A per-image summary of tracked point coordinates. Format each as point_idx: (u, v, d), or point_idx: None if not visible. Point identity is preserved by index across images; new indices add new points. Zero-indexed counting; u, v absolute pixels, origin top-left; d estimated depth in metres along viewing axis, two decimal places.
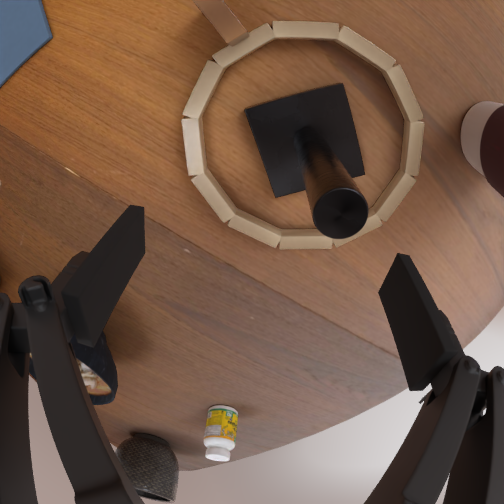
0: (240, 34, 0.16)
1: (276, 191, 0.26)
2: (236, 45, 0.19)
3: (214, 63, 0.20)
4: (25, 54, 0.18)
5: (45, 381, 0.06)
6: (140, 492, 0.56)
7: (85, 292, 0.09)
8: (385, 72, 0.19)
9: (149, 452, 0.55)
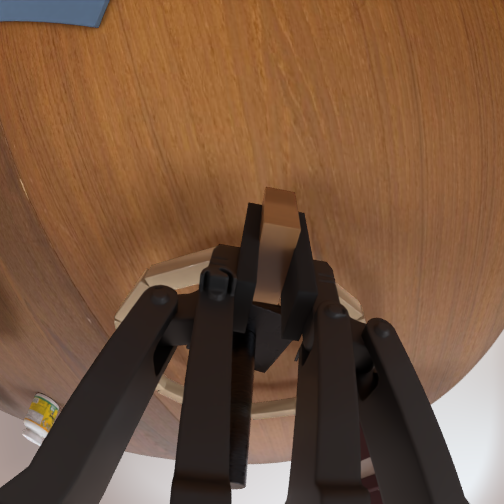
0: (268, 302, 0.15)
1: None
2: None
3: None
4: (58, 16, 0.12)
5: (196, 365, 0.08)
6: None
7: None
8: None
9: None
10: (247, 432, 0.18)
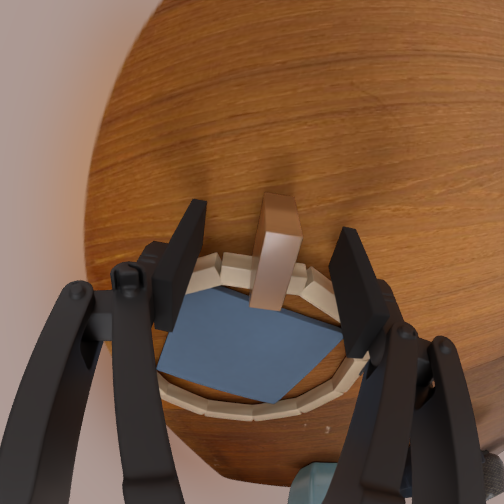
0: (271, 308, 0.15)
1: None
2: None
3: (217, 274, 0.17)
4: (316, 359, 0.23)
5: (121, 365, 0.07)
6: None
7: (175, 277, 0.11)
8: None
9: None
10: None
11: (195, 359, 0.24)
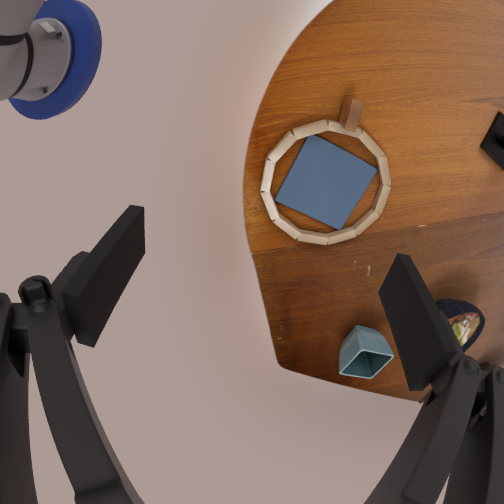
0: (352, 131, 0.36)
1: None
2: (342, 126, 0.39)
3: (327, 125, 0.39)
4: (364, 186, 0.45)
5: (45, 381, 0.06)
6: None
7: (85, 292, 0.09)
8: (382, 185, 0.44)
9: None
10: None
11: (301, 187, 0.46)
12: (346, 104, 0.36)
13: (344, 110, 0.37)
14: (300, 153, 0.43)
